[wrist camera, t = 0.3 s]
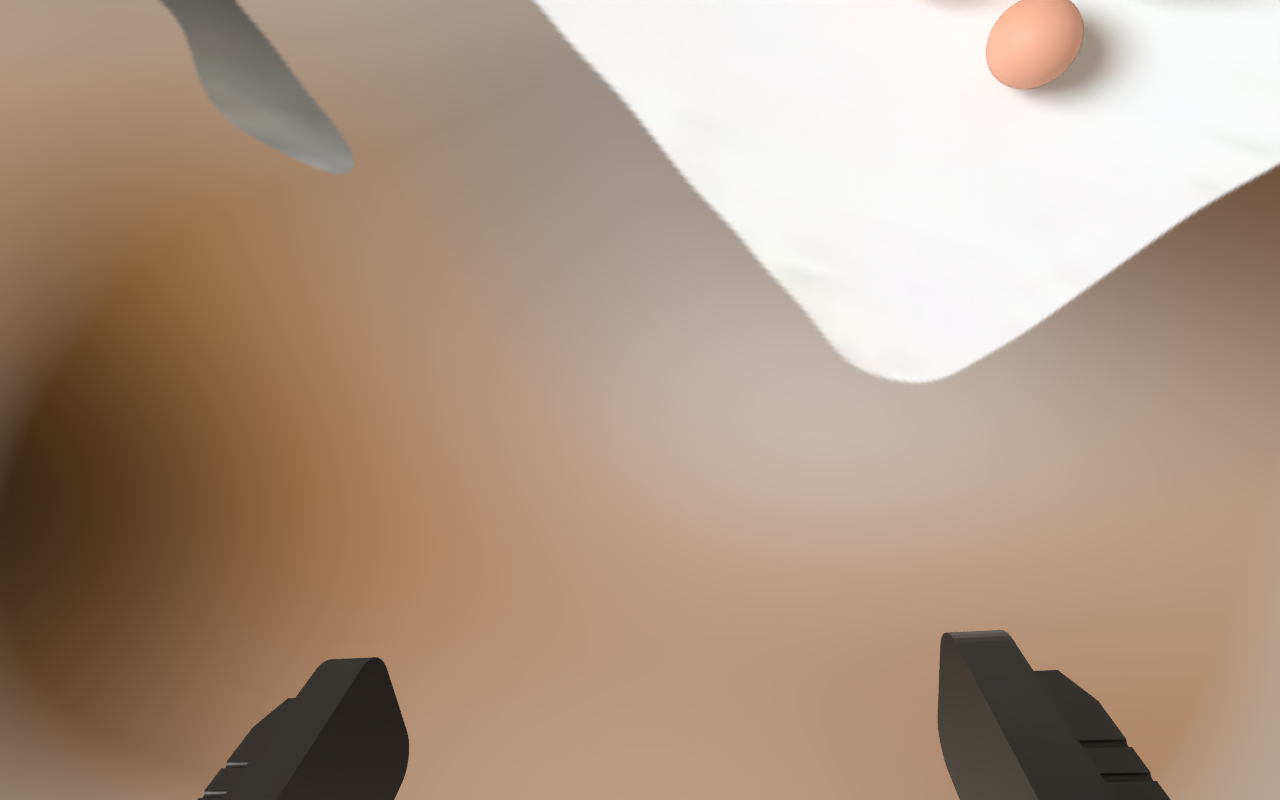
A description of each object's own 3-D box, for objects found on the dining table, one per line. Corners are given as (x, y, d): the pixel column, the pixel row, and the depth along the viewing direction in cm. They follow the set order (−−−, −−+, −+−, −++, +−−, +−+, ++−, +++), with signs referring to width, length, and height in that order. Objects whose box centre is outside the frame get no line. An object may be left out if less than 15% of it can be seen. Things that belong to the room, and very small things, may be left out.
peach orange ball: (980, 4, 30) (1016, -16, 26) (1064, 3, 29) (1112, -18, 26) (966, 93, 31) (1000, 84, 27) (1047, 92, 31) (1090, 84, 27)
